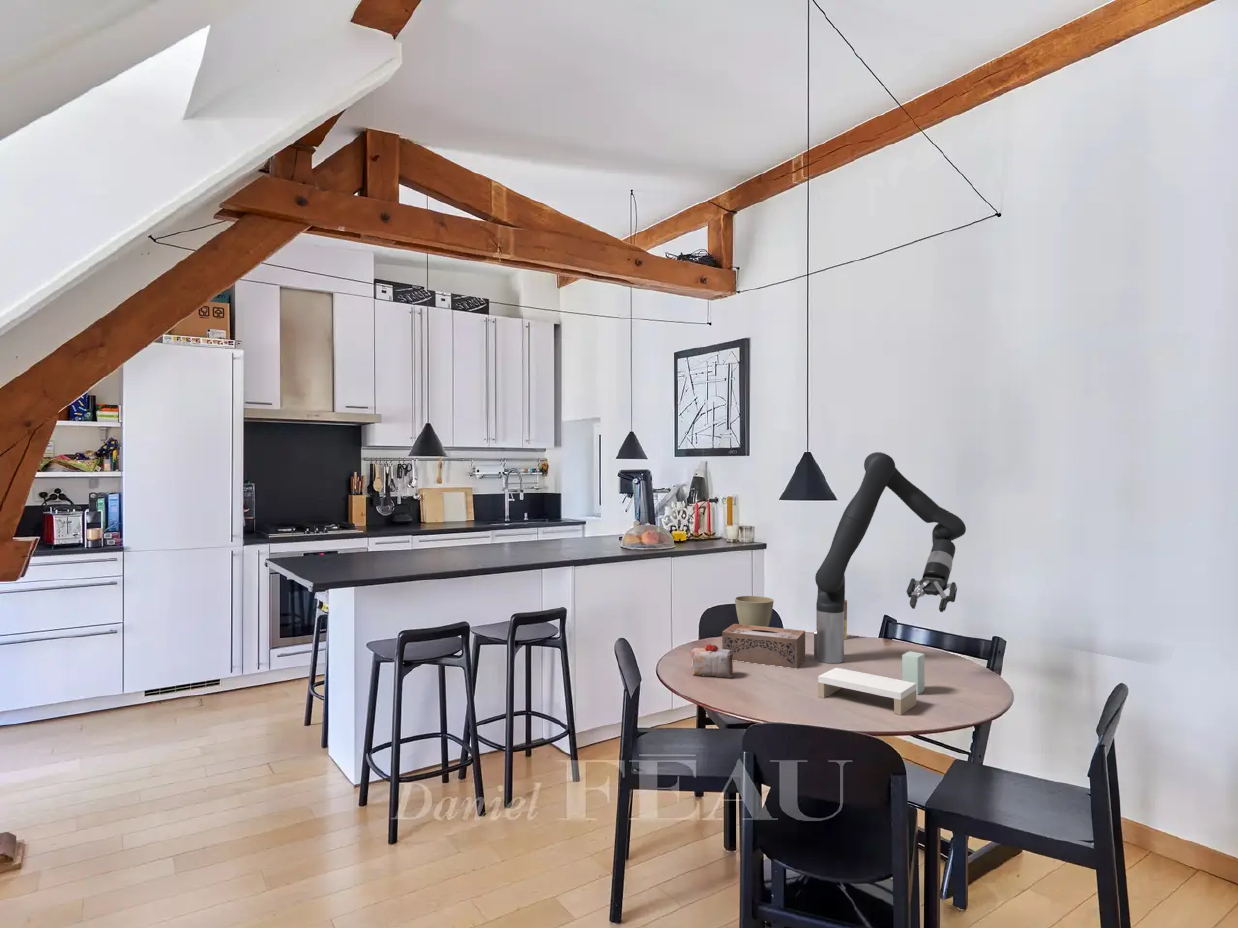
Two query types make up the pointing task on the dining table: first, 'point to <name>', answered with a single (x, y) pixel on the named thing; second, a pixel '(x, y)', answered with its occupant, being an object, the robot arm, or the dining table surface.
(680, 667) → the dining table surface
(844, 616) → the candy box
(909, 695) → the shelf
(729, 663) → the food item
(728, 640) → the tissue box cover
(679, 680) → the dining table surface
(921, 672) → the pale green rectangular block
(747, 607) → the plant pot
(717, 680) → the dining table surface
